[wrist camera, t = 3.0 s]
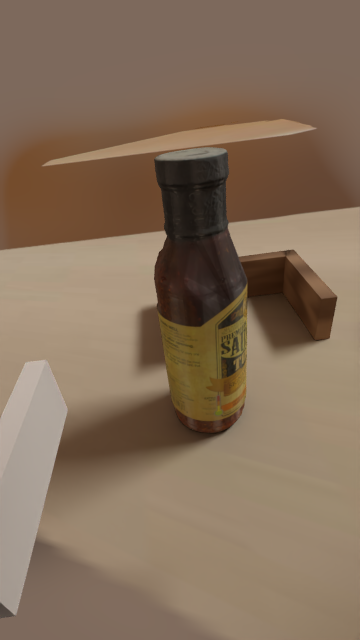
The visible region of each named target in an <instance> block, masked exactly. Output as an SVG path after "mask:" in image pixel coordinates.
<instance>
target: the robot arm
mask: <svg viewBox="0 0 360 640" xmlns="http://www.w3.org/2000/svg"><path fill="white" fill-rule="evenodd" d="M67 411H68V409H67V407H66V404H65V402H64V400H63V397H62V395H61V393H60V390H59V388H58V385H57V383H56V381H55V378H54V376H53V374H52V371H51V369H50V367H49V364H48V362H47V360H40V361H32V362H26V363H25V365H24V367H23V370H22V372H21V374H20V376H19V378H18V381H17V383H16V385H15V387H14V389H13V392H12V394H11V396H10V398H9V400H8V403H7V405H6V407H5V409H4V411H3V414H2V416H1V418H0V618H5V617H12V616H16V614H17V610H18V606H19V601H20V597H21V594H22V590H23V586H24V582H25V578H26V574H27V570H28V566H29V562H30V558H31V554H32V550H33V546H34V542H35V538H36V534H37V530H38V526H39V522H40V518H41V514H42V510H43V506H44V502H45V498H46V494H47V490H48V486H49V483H50V479H51V475H52V471H53V467H54V463H55V459H56V455H57V451H58V447H59V443H60V439H61V435H62V431H63V427H64V423H65V419H66V415H67Z"/></svg>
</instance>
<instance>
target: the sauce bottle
mask: <svg viewBox="0 0 360 640" xmlns="http://www.w3.org/2000/svg"><path fill="white" fill-rule="evenodd" d="M154 161H155V171H156V177H157V182H158V185H159V187H160V188H161V191H162V201H163V208H164V215H165V225H164V229H165V232H166V234H167V238H166V240H165V242H164V247H163V249H162V250H161V251H160V252H159V255H158V257H157V261H156V264H155V274H154V280H155V287H156V293H157V299H158V303H157V310H158V317H159V323H160V330H161V336H162V343H163V349H164V355H165V362H166V369H167V375H168V381H169V387H170V393H171V399H172V402H173V404H174V406H175V412H176V413H177V415H178V417H179V419H180V421H181V422H182V423H183V424H184V425H186V426H187V427H188V428H190V429H193V430H195V431H198V432H205V433H208V432H209V433H215V432H220V431H223V430H225V429H227V428H229V427H230V426H231V425H233V424H234V423H235V422H236V421H237V420H238V418H239V417H240V415H241V414H242V410H243V408H244V401H245V398H246V361H247V278H246V275H245V272H244V270H243V267H242V265H241V262H240V260H239V257H238V255H237V252H236V250H235V247H234V244H233V242H232V239H231V237H230V234H229V231H228V220H227V217H226V179H227V177H228V174H229V169H228V153H227V151H226V150H225V149H221V148H196V149H189V150H182V151H176V152H170V153H166V154H162V155H159V156H157V157H156V158H155V159H154Z"/></svg>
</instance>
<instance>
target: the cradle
mask: <svg viewBox="0 0 360 640" xmlns="http://www.w3.org/2000/svg"><path fill="white" fill-rule="evenodd" d="M239 260H240V262H241V265H242V267H243V270H244V272H245V275H246V278H247V297H251V296H259V295H266V294H274V293H281V292H283V294H284V295H285V297H286V298H287V300H288V301H289V302H290V304H291V305H292V307H293V308H294V310H295V311H296V313H297V314H298V316H299V317H300V319H301V320H302V322H303V323H304V325H305V326H306V328H307V329H308V331H309V332H310V333H311V335H312V336H313V338H314V339H315V340H320V339H328V338H330V333H331V327H332V322H333V317H334V312H335V307H336V301H337V296H336V295H335V294H334V293H333V292H332V291H331V289H330V288H329V287H328V286H327V285H326V284H325V283H324V282H323V281H322V280H321V279H320V278H319V277H318V276H317V274H316V273H315V272H314V271H313V270H312V269H311V268H310V267H309V266H308V265H307V264H306V263H305V262H304V260H303V259H302V258H301V257H300V256H299V255H298V254H297V253H296V252H295V251H294V250H287V251H279V252H272V253H264V254H257V255H249V256H241V257H239Z"/></svg>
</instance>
